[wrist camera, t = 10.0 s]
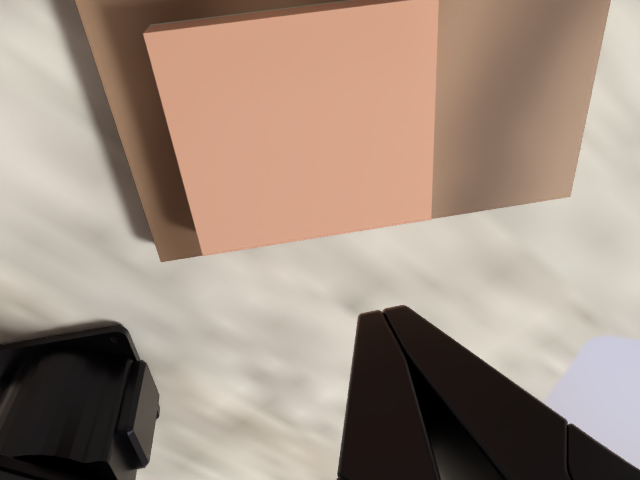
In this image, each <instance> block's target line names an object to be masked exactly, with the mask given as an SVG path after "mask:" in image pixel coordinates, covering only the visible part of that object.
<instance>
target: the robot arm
mask: <svg viewBox="0 0 640 480" xmlns="http://www.w3.org/2000/svg"><path fill="white" fill-rule="evenodd" d="M114 336H120V337H121V338H116V337H114ZM158 403H159V393H158V390H157V388H156V385H155V383H154V380H153V378H152V375H151V373H150V370H149V368H148V365H147V363H146V362H144V361H143V360H140V358H139V355H138V353H137V351H136V348H135V346H134V343H133V341H132V338H131V336H130V333H129V331H128V330H127V329H126V328H124V327H121V326H112V327H106V328H100V329H94V330H88V331H82V332H76V333H70V334H65V335H59V336H53V337H47V338H41V339H35V340H29V341H23V342H17V343H11V344H5V345H0V480H135V479H136V473H137V469H141V468H145V467H146V466H147V464H148V463H149V461H150V455H151V448H152V442H153V435H154V429H155V422H156V419H158V417H159V414H160V407H159V404H158ZM337 475H338V478H337V480H640V470H639V469H638V468H636V467H635V466H633V465H631V464H630V463H628V462H627V461H625V460H624V459H623V458H621V457H620V456H618V455H617V454H615V453H613V452H612V451H611V450H609V449H608V448H606V447H605V446H603V445H602V444H600V443H599V442H597V441H596V440H595V439H593V438H592V437H590V436H589V435H587V434H586V433H585V432H583V431H582V430H580V429H579V428H578V427H576V426H575V425H573V424H568V422H567V420H566V419H565V418H563V417H562V416H560V415H559V414H558V413H556V412H555V411H553V410H552V409H551V408H549V407H548V406H546V405H545V404H544V403H542V402H541V401H539V400H538V399H537V398H535V397H534V396H532V395H531V394H530V393H528V392H527V391H525V390H524V389H523V388H521V387H520V386H518V385H517V384H515V383H514V382H513V381H511V380H510V379H508V378H507V377H506V376H504V375H503V374H501V373H500V372H499V371H497V370H496V369H494V368H493V367H492V366H490V365H489V364H487V363H486V362H485V361H483V360H482V359H480V358H479V357H478V356H476V355H475V354H473V353H472V352H471V351H469V350H468V349H466V348H465V347H464V346H462V345H461V344H459V343H458V342H456V341H455V340H454V339H452V338H451V337H449V336H448V335H447V334H445V333H444V332H442V331H441V330H440V329H438V328H437V327H435V326H434V325H433V324H431V323H430V322H428V321H427V320H426V319H424V318H423V317H421V316H420V315H419V314H417V313H416V312H414V311H413V310H412V309H410V308H409V307H407V306H405V305H400V306H395V307H390V308H386V309H384V310H383V311H382V312H381V311H380V310H375V311H371V312H366V313H361V314H360V315H359V316H358V322H357V329H356V337H355V344H354V352H353V360H352V367H351V375H350V382H349V390H348V398H347V405H346V413H345V420H344V428H343V436H342V443H341V451H340V458H339V466H338V473H337Z"/></svg>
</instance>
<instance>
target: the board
mask: <svg viewBox="0 0 640 480" xmlns="http://www.w3.org/2000/svg"><path fill="white" fill-rule="evenodd" d="M337 1H345V0H75V2H76V5H77V8H78V11H79V14H80V17H81V20H82V23H83V26H84V29H85V32H86V35H87V38H88V41H89V44H90V48H91V51H92V54H93V57H94V60H95V63H96V66H97V69H98V72H99V75H100V78H101V81H102V84H103V87H104V90H105V93H106V96H107V99H108V102H109V105H110V108H111V111H112V115H113V118H114V121H115V124H116V127H117V130H118V133H119V136H120V139H121V142H122V145H123V148H124V151H125V154H126V157H127V160H128V163H129V166H130V169H131V172H132V175H133V178H134V182H135V185H136V188H137V191H138V194H139V197H140V200H141V203H142V206H143V209H144V212H145V215H146V218H147V221H148V224H149V227H150V230H151V233H152V236H153V239H154V242H155V246H156V249H157V252H158V255H159V258H160V261H161V262H165V261H171V260H177V259H184V258H190V257H196V256H202V255H203V254H202V251H201V247H200V243H199V239H198V236H197V232H196V228H195V225H194V221H193V217H192V213H191V210H190V206H189V202H188V199H187V195H186V191H185V187H184V184H183V180H182V176H181V173H180V169H179V165H178V161H177V158H176V154H175V150H174V147H173V143H172V139H171V135H170V132H169V128H168V124H167V121H166V117H165V113H164V109H163V106H162V102H161V98H160V95H159V91H158V87H157V83H156V80H155V76H154V72H153V69H152V65H151V61H150V58H149V54H148V50H147V46H146V43H145V39H144V35H143V33H144V32H145V31H146V29H147V28H148V27H149V26H150V25H151V24H159V23H167V22H175V21H184V20H192V19H200V18H208V17H216V16H224V15H232V14H240V13H248V12H256V11H264V10H272V9H280V8H289V7H297V6H305V5H313V4H321V3H329V2H337ZM610 1H611V0H439V9H438V38H437V67H436V96H435V125H434V154H433V183H432V212H431V219H434V218H440V217H447V216H453V215H459V214H465V213H472V212H478V211H484V210H490V209H497V208H503V207H509V206H515V205H522V204H528V203H534V202H540V201H547V200H553V199H559V198H565V197H570V196H571V191H572V186H573V181H574V176H575V171H576V166H577V162H578V157H579V152H580V147H581V142H582V137H583V132H584V128H585V123H586V118H587V113H588V108H589V103H590V98H591V94H592V89H593V84H594V79H595V74H596V69H597V64H598V60H599V55H600V50H601V45H602V40H603V35H604V30H605V26H606V21H607V16H608V11H609V6H610Z"/></svg>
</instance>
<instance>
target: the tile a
mask: <svg viewBox="0 0 640 480" xmlns="http://www.w3.org/2000/svg"><path fill="white" fill-rule="evenodd" d="M438 9H439V0H345V1H337V2H329V3H321V4H313V5H305V6H297V7H289V8H280V9H272V10H264V11H256V12H248V13H240V14H232V15H224V16H216V17H208V18H200V19H192V20H184V21H175V22H167V23H159V24H151V25H150V26H149V27H148V28H147V29H146V31H145V32H144V33H143V35H144V39H145V43H146V46H147V50H148V54H149V58H150V61H151V65H152V69H153V72H154V76H155V80H156V83H157V87H158V91H159V95H160V98H161V102H162V106H163V109H164V113H165V117H166V121H167V124H168V128H169V132H170V135H171V139H172V143H173V147H174V150H175V154H176V158H177V161H178V165H179V169H180V173H181V176H182V180H183V184H184V187H185V191H186V195H187V199H188V202H189V206H190V210H191V213H192V217H193V221H194V225H195V228H196V232H197V236H198V239H199V243H200V247H201V251H202V254H203V256H206V255H212V254H218V253H225V252H231V251H237V250H243V249H250V248H256V247H262V246H268V245H275V244H281V243H287V242H293V241H300V240H306V239H312V238H318V237H325V236H331V235H337V234H343V233H350V232H356V231H362V230H368V229H375V228H381V227H387V226H393V225H400V224H406V223H412V222H418V221H425V220H431V212H432V183H433V154H434V125H435V96H436V67H437V38H438Z"/></svg>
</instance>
